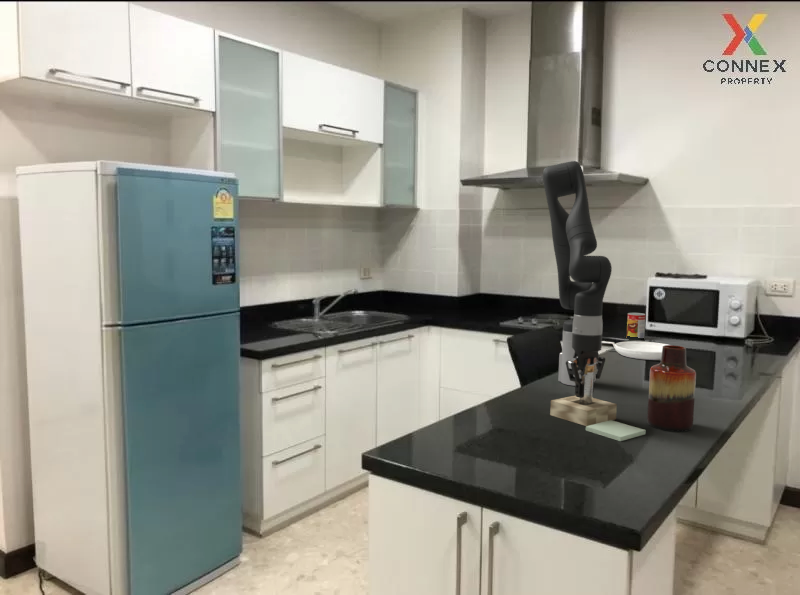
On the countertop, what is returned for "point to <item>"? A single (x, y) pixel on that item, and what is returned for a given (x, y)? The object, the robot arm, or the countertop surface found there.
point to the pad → (615, 430)
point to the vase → (671, 391)
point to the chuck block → (583, 410)
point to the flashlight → (588, 386)
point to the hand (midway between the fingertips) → (584, 395)
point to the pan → (639, 349)
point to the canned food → (636, 325)
